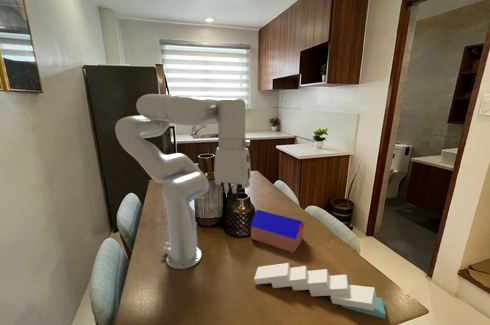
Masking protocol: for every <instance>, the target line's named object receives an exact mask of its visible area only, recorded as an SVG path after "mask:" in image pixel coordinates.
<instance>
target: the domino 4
mask: <svg viewBox="0 0 490 325" xmlns="http://www.w3.org/2000/svg"><path fill="white" fill-rule="evenodd" d="M349 282H350V281H349V278H348V275H347V274H335V275H329V288H323V289H308V290H309V291H308V292H309V293H310V296H311V297H321V296H322V297H325V296H327V297H328V296H330V297H331V295H349V285H350V284H349Z"/></svg>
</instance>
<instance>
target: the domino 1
mask: <svg viewBox="0 0 490 325" xmlns="http://www.w3.org/2000/svg"><path fill="white" fill-rule="evenodd" d="M290 268H291V266H290V262H285V263H279V264H270V265H262V266H257V269H256V272H255V276H254V277H253V278H254V279H253V280H254V283H255V284H256V285H263V284H271V283H274V282H283V281H289V276H290Z"/></svg>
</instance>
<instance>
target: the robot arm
mask: <svg viewBox="0 0 490 325" xmlns="http://www.w3.org/2000/svg"><path fill="white" fill-rule="evenodd" d="M135 104H136V110H137V112H138V114H139V115H130V116H126V117H123V118H121V119H119V120H117V122H116V124H115V127H114V129H115V135H116V139H117V141H118V143H119V145H120V146H121V147H122V148H123V150H124V151H125V152H127V153H128V154H129V155H130V156H131V157H133V159H135V160H136V162H138V164H139V165H140V167H141V168H143V169H144V171H145V172H146V173H147V174H148V176H149V177H150V178H151V179H152V180H153V181H154V182H156V183H158V184H163V183H165V184H164V185H163V187H162V191H161V195H162V199H163V201H164V205H165V209H166V210H165V211H166V214H167V228H168V237H169V242H167V241H166V242H164V244H163V248H162V252H167V253H168V254H167V256H166V263H167V265H168V266H169V267H170V268H172V269H176V270H185V269H188V268H191V267H192V268H193V267H194V266H195V265H197V264H198V263H199V262H200V261H201V258H202V251H201V250H200V248H198V246H197V230H196V229H197V228H196V226H197V224H196V218H195V209H193V207H192V206H191V204H190V203H191V202H192V201H194V200H196V198H201V197H202V196H203V195H205V194H206V193H207V192H209V187H210V184H209V181H208V177H207V176H206V175H205V174H204V173H203V171H202V170H201V169H200V168H199V167H198V165H196V164H195V163H194V162H193V160H192V159H190V158H189V156H188V155H186V154H184V153H180V152H175V153H171V154H170V153H169V154H165V153H163V152H162V151H161V150H160V149H159V147H157V146H156V145H155V144H154V143H152V142H150V141H148V140H145V139H147V138H149V139H150V138H155V137H159V136H162V135H163V134H164V133H165V132H167V131H166V130H168V128H169V127H170V126H171V124H176V125H183V126H191V127H193V126H195V127H197V126H198V127H200V126H205V125H207V126H208V125H216V124H217V125H218V127H217V128H218V130H217V131H218V133H217V136H218V138H217V139H218V140H217V142H218V146H217V147H216V150H215V155H214V163H213V165H214V166H213V176H214V184H216V185H218V186H221V187H222V189H224V192H225V193H226V197H227V201H228V205H231V206H233V205H234V204H235V203H236V202H237V203H238V199H239V197H238V196H239V195H238V194H239V191H240V190H241V189H247V188H249V187H251V184H250V180H251V176H252V170H251V158H250V152H249V149H248V147H249V146H251V141H250V140H247V137H246V112H247V111H246V109H247V106H246V101H245V100H244V99H242V98H236V97H235V98H233V97H231V98H230V97H229V98H227V97H226V98H220V97H207V96H204V97H203V96H179V95H177V94H160V93H158V94H157V93H148V94H147V93H146V94H144V95H142V96H141V97H139V98H138V99H137V101H136V103H135Z"/></svg>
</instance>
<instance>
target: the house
mask: <svg viewBox="0 0 490 325" xmlns="http://www.w3.org/2000/svg"><path fill="white" fill-rule="evenodd" d="M304 228H305V224H304V222H302V220H299V219H296V218H291V217H287V216H283V215H280V214H276V213H272V212H267V211H263V210H260V209H256V210H255V212H254V216H253V218H252V220H251V223H250V239H252V240H255V241H257V242H259V243H260V242H261V243H263V244H266V245H270V246H272V247H276V248H278V249H281V250H284V251H288V252H290V253H293V254H295V252H296V250H297V249H298V247H299V246H300V244H301V243H302V241H303V239H304V230H305V229H304Z"/></svg>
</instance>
